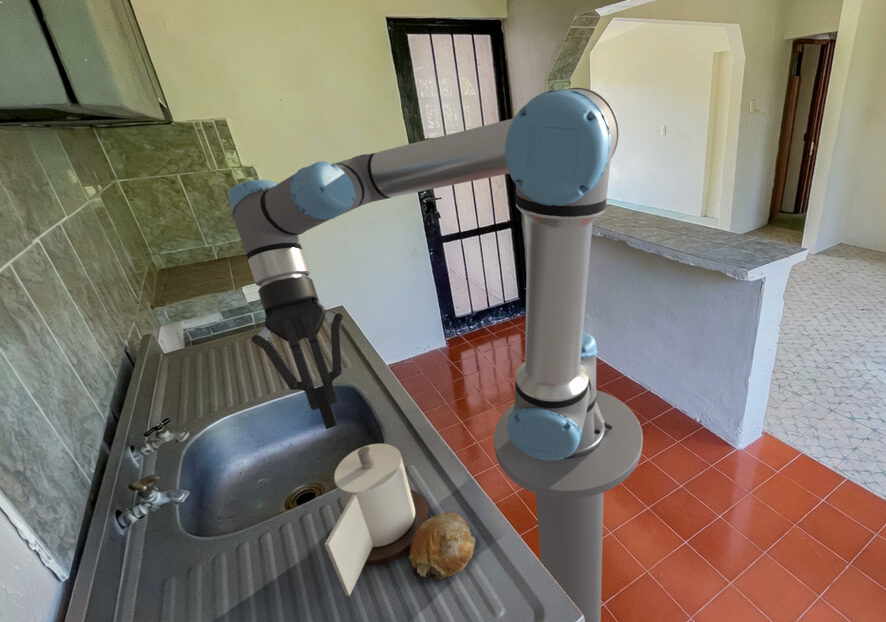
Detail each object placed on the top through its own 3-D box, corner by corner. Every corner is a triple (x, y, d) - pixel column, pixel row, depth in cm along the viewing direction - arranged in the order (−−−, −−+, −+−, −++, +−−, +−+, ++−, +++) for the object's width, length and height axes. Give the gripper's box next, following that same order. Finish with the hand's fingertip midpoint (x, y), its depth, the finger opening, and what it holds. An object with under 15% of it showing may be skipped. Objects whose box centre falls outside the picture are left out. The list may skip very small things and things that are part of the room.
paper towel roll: (381, 489, 83) (365, 437, 77) (427, 504, 79) (414, 451, 74) (302, 578, 68) (276, 522, 63) (354, 601, 65) (332, 545, 59)
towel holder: (427, 485, 85) (410, 412, 77) (430, 551, 73) (411, 473, 65) (348, 504, 82) (322, 430, 74) (337, 577, 70) (305, 498, 62)
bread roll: (478, 578, 73) (493, 536, 71) (419, 599, 66) (433, 553, 64) (451, 535, 80) (464, 496, 78) (395, 549, 73) (407, 507, 71)
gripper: (330, 276, 77) (373, 409, 77) (241, 297, 71) (288, 440, 71) (328, 267, 70) (376, 412, 70) (230, 289, 64) (281, 447, 64)
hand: (331, 426), depth 71 cm, fingers closed
